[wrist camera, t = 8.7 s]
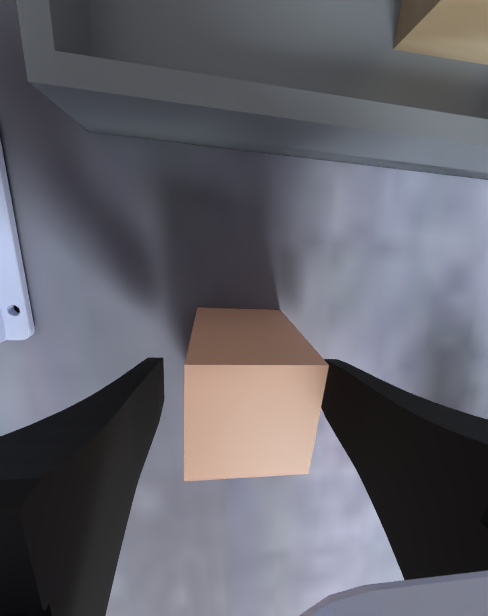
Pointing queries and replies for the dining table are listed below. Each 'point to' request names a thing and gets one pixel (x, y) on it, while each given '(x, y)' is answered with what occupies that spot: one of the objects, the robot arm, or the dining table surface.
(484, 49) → the beech block
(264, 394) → the terracotta block
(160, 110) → the slate tray
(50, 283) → the dining table surface
